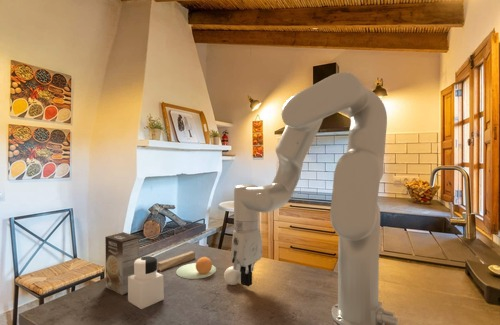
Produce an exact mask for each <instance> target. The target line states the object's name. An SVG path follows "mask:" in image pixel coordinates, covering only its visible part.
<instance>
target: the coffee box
mask: <svg viewBox="0 0 500 325" xmlns="http://www.w3.org/2000/svg"><path fill="white" fill-rule="evenodd" d="M139 258H140V236H139V235H138V236H137V235H133V234H130V233H127V232H125V231H124V232H118V233H115V234H112V235H108V236H105V288H106V289H108V290H111V291H113V292H115V293H117V294H119V295H121V296H123V295H125V294H128V277H129V276H131V275H134V262H135V261H136V260H137V259H139Z"/></svg>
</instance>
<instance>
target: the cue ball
mask: <svg viewBox="0 0 500 325" xmlns="http://www.w3.org/2000/svg"><path fill="white" fill-rule="evenodd" d="M233 267H234V265H232V266H229V267H227V268H226V270H225V271H224V272H223V277H224V281H225V283H227V285H230V286H235V285H238V284H239V283H241V272H240V271H239V270H238V271H237V270H234V269H233Z"/></svg>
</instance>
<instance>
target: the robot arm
mask: <svg viewBox="0 0 500 325" xmlns="http://www.w3.org/2000/svg"><path fill="white" fill-rule="evenodd" d="M281 109H282V110H281V118H282V121H283V123H284V124H285V126H284V130H283V132H282V134H281V135H280V138H279V140H278V142H277V145H276V147H275V153H276V157H277V158H278V168H277V172H276V175H275V176H274V179H273V181H272V182H271V184H266V185H264V186H263V185H262V186H257V185H255V184H251V183H250V184H249V183H248V184H238V185H235V187H234V189H233V231H232V232H233V233H232V239H231V250H230V252H231V253H230V254H231V264H233V266H234V267H233V269H234V270H237V271H238V270H239V271H240V272H241V280H240V284H241V285H242V286H246V287H250V286H252V285H253V271H254V268H255V264H256V263H257V262H258V261H260V260H261V259H262V258H263V243H262V242H263V241H262V233H261V228H260V227H259V226H260V225H259V223H260V221H259V219H260V216H259V213H263V214H264V213H265V214H266V213H267V214H268V213H271V212H273V211H276V210H277V209H281V208H282V207H284V206H286V204H288V202H289V201H290V200H291V197H292V195H293V193H294V191H295V189H296V188H297V185H298V183H299V181H300V178H301V173H302V169H303V165H304V161H305V158H306V157H307V154H308V152H309V150H310V148H311V147H312V144H313V142H314V140H315V138H316V136H317V134H318V133H319V130H320V127H321V126H322V123H323V121H324V119H325V118H327V117H330V116H332V115H334V114H336V113H341V114H343V115H346V116H348V118H349V121H350V126H349V130H348V140H347V141H348V142H347V150H346V152H345V153H344V154H343V155H341V156H340V158H339V159H338V161H337V163H336V165H335V169H334V174H333V183H332V192H331V193H332V194H331V200H330V201H331V202H330V210H329V216H330V217H329V218H330V223H331V226H332V228H333V230H334V232H335V233H336V234H337V235H338V248H337V250H338V252H337V253H338V256H337V257H338V258H337V259H338V260H337V303H335V304H334V305H333V306H332V307H331V317H332V320H334V321H335V323H337V324H338V325H386V324H387V325H398V321H399V319H398V317H395V312H392V311H389V310H385V309H384V308H383V302H381V301H379V290H380V289H379V283H380V282H379V279H380V278H379V277H380V276H379V272H380V270H379V267H380V262H379V260H380V236H381V235H380V233H381V231H380V230H381V210H380V207H379V204H378V198H379V191H380V183H381V180H382V178H383V176H384V171H385V167H384V162H385V158H384V157H385V149H386V140H387V138H386V137H387V136H386V135H387V130H388V128H387V126H388V115H387V114H388V113H387V110H386V106H385V104H384V103H383V101H382V100H381V98H380V97H379V95H377V94H376V93H375V92H373V91H372V90H370V89H369V88H367V87H366V86H365V85H364V84H363V83H362V81H361V79H359V78H358V76H356V75H355V74H354V73H351V72H346V71H345V72H344V71H343V72H341V71H340V72H338V73H334V74H331V75H329V76H328V77H325V78H323V79H322V80H320V81H318V82H316V83H314V84H313V85H311V86H308V87H306V88H305V89H303V90H301V91H299V92H297V93H295V94H293V95H292V96H290V97H289V98H287V100H286V102H284V104H283V106H282V108H281Z"/></svg>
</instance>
